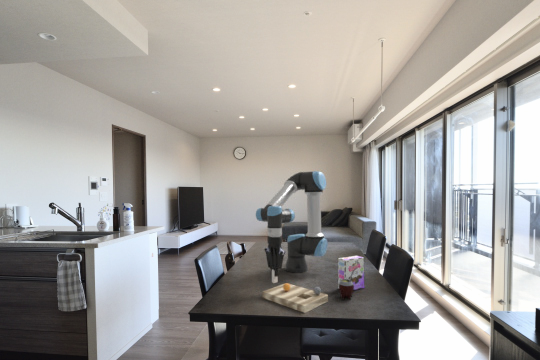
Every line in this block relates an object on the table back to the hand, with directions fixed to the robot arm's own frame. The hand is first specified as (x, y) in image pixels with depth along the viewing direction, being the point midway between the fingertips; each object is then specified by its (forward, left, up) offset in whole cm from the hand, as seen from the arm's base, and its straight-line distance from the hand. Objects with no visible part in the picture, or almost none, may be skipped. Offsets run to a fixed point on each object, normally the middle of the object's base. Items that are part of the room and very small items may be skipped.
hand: (274, 282), depth 148 cm
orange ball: (+8, 0, -1) cm, 8 cm away
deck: (+13, 0, -6) cm, 14 cm away
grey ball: (+22, +6, -1) cm, 23 cm away
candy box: (+25, +33, -6) cm, 42 cm away
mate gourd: (+30, +20, -6) cm, 37 cm away
